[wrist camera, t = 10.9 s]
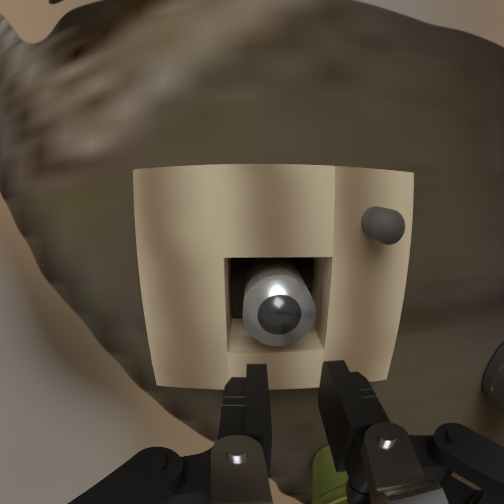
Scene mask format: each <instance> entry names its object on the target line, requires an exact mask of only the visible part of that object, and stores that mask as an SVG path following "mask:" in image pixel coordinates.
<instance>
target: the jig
mask: <svg viewBox="0 0 504 504" xmlns="http://www.w3.org/2000/svg"><path fill="white" fill-rule="evenodd" d="M133 183H134V212H135V229H136V243H137V255H138V266H139V276H140V285H141V293H142V301H143V309H144V316H145V322H146V329H147V335H148V341H149V347H150V353H151V358H152V363H153V369H154V374H155V379H156V383H157V385H158V386H169V387H181V388H197V389H220V390H224V388H225V385H226V384H227V382H228V381H229V380H230V379H231V377H246V366H247V364H267V374H268V386H269V390H277V389H300V388H316V387H319V385H320V378H321V371H322V365H323V362H324V361H334V360H344V361H345V363H346V365H347V367H348V369H349V371H350V372H356V371H358V372H359V373H360V374H362V375H363V376H364V377H366V378H367V380H368V381H369V382H373V381H380V380H386V379H387V375H388V371H389V367H390V363H391V359H392V355H393V350H394V346H395V341H396V337H397V332H398V327H399V322H400V316H401V311H402V305H403V299H404V292H405V285H406V278H407V271H408V262H409V253H410V243H411V231H412V216H413V192H414V173H411V172H402V171H392V170H382V169H370V168H357V167H342V166H323V165H295V164H222V165H194V166H175V167H159V168H146V169H134V170H133ZM248 257H314V268H313V287H312V298H313V301H314V304H315V309H316V314H315V320H314V323H313V325H312V327H311V329H310V330H309V332H308V333H307V334H306V335H305V336H304V337H303V338H301V339H300V340H298V341H297V342H295V343H292V344H289V345H286V346H269V345H266V344H263V343H261V342H259V341H257V340H256V339H254V338H253V337H252V336H251V335H250V334H249V332H248V331H247V329H246V328H245V325H244V322H243V319H235V318H232V297H231V258H248Z"/></svg>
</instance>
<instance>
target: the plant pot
mask: <svg viewBox="0 0 504 504" xmlns="http://www.w3.org/2000/svg"><path fill="white" fill-rule="evenodd" d="M347 480H348V475H347V471H344V472H337V473H336V469H335V465H334V462H333V458H332V454H331V450H330V447H329V445H327V446H325V447H324V448H322V449H321V450H319V451H318V452H317V453H316V455H315V457H314V459H313V462H312V504H348V503H347V495H346V482H347Z"/></svg>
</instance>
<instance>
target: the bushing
mask: <svg viewBox="0 0 504 504" xmlns="http://www.w3.org/2000/svg"><path fill="white" fill-rule="evenodd" d="M315 314H316V309H315V304H314V301H313V298H312V296H311V294H310V292H309V290H308V289H307V287H306V285H305V283H304V281H303V279H302V277H301V275H300V273H299V271H298V269H297V267H296V266H295V264H294V263H293V262H292V261H291V260H290V259H288V258H287V257H259V258H258V259H256V260H255V261H254V262H253V263H252V264H251V265H250V266H249V268H248V270H247V272H246V276H245V287H244V301H243V322H244V325H245V328H246V329H247V331H248V332H249V334H250V335H251V336H252V337H253V338H254V339H256V340H257V341H259V342H261V343H263V344H266V345H269V346H286V345H289V344H292V343H295V342H297V341H298V340H300V339H301V338H303V337H304V336H305V335H306V334H307V333H308V332H309V330H310V329H311V327H312V325H313V323H314V320H315Z"/></svg>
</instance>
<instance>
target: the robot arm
mask: <svg viewBox="0 0 504 504" xmlns="http://www.w3.org/2000/svg"><path fill="white" fill-rule="evenodd" d="M483 389H484V391H485V393H486V394H487V395H488V396H489V397H490V398H491V399H492V400H493V401H494V402H495V403H496V404H497V405H498V407H499V408H500V409H501V410H502V411H503V412H504V343H503V344H502V345H501V346H500V347H499V349H498V350H497V352H496V353H495V355H494V356H493V358H492V359H491V361H490V363H489V365H488V367H487V369H486V372H485V375H484V378H483ZM318 405H319V410H320V414H321V417H322V421H323V425H324V428H325V432H326V436H327V439H328V443H329V447H330V450H331V454H332V458H333V462H334V465H335V469H336V473H337V472H344V471H347V475H348V480H347V482H346V495H347V503H348V504H504V447H503V446H501V445H499V444H497V443H495V442H493V441H491V440H489V439H487V438H486V437H484V436H482V435H480V434H478V433H476V432H474V431H472V430H470V429H469V428H467V427H465V426H463V425H461V424H457V423H446V424H443V425H441V426H439V427H438V428H437V429H436V431H435V433H434V435H427V436H415V435H408V433H407V431H406V430H405V429H404V428H403V427H401V426H399V425H397V424H394V423H390V421H389V419H388V417H387V415H386V413H385V411H384V409H383V407H382V406H381V404H380V402H379V400H378V398H377V397H376V394H375V392H374V391H373V389H372V387H371V385H370V383H369V381H368V380H367V378H366V377H364V376H363V375H362V374H360V373H359V372H358V371H356V372H350V371H349V369H348V367H347V365H346V363H345V361H344V360H334V361H324V362H323V365H322V371H321V378H320V385H319V392H318ZM271 445H272V426H271V413H270V399H269V386H268V374H267V364H247V366H246V377H231V379H230V380H229V381H228V382H227V384H226V385H225V388H224V398H223V406H222V412H221V420H220V428H219V436H218V440H217V442H216V443H215V444H214V445H213V447H212V448H210V449H209V450H207V451H205V452H203V453H200V454H196V455H190V456H184V457H180V456H179V455H178V454H177V453H176V452H174V451H173V450H171V449H168V448H164V447H150V448H146V449H144V450H142V451H140V452H138V453H137V454H136V455H135V456H133V457H132V458H131V459H129V460H128V461H127V462H125V463H124V464H123V465H122V466H120V467H119V468H117V469H116V470H115V471H113V472H112V473H111V474H109V475H108V476H107V477H105V478H104V479H103V480H101V481H100V482H98V483H97V484H96V485H94V486H93V487H91V488H90V489H89V490H87V491H86V492H84V493H83V494H81V495H80V496H78V497H77V498H75V499H74V500H72V501H71V502H69V503H68V504H273V501H272V496H271V490H270V485H269V480H268V478H269V475H270V461H271ZM453 472H455V473H457V474H458V475H460V476H462V477H463V478H465V479H467V480H468V481H470V482H472V483H474V484H475V485H477V486H479V487H480V488H481V489H482V490H474V489H473V488H471V487H469V486H467V485H466V484H464V483H462V482H461V481H459V480H457V479H456V478H454V477H452V476H451V475H452V474H453Z"/></svg>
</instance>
